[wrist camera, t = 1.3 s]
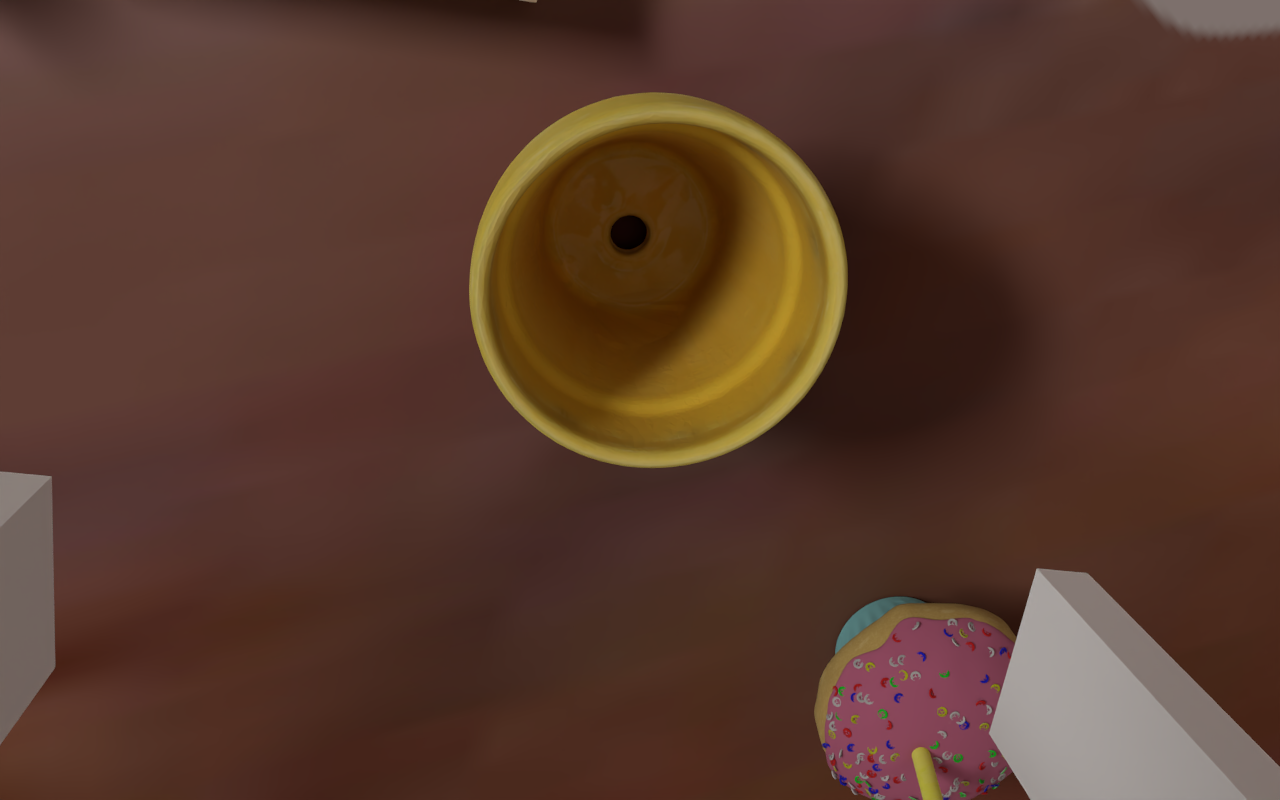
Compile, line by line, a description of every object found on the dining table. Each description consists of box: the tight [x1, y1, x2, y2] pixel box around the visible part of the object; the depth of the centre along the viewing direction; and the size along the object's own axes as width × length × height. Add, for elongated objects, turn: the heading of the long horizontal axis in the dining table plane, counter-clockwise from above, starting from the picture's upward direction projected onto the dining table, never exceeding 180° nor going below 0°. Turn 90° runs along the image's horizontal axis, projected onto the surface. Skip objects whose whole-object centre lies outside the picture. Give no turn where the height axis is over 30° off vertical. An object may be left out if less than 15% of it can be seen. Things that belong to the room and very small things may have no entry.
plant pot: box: [469, 93, 848, 468], centre depth 35 cm, size 10×10×10 cm
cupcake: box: [814, 597, 1017, 800], centre depth 41 cm, size 9×8×12 cm
